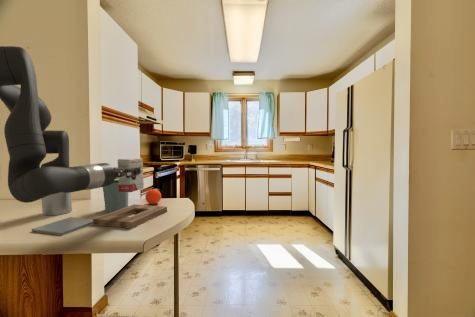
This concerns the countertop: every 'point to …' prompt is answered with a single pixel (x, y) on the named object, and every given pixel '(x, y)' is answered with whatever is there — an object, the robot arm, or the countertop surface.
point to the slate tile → (64, 226)
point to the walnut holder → (121, 219)
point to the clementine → (153, 196)
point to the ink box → (132, 182)
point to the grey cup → (114, 197)
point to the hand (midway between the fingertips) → (133, 170)
